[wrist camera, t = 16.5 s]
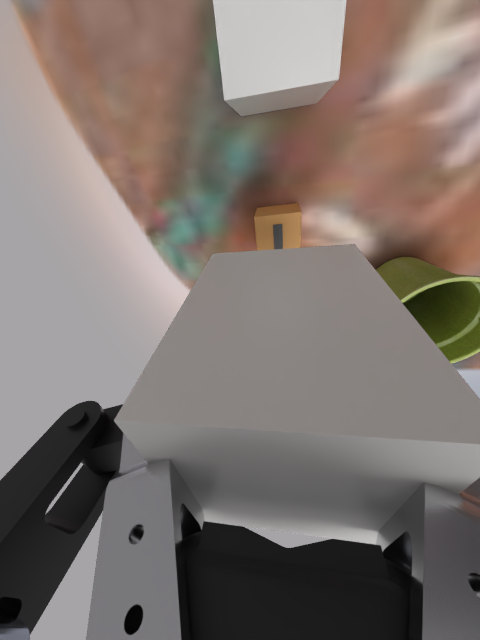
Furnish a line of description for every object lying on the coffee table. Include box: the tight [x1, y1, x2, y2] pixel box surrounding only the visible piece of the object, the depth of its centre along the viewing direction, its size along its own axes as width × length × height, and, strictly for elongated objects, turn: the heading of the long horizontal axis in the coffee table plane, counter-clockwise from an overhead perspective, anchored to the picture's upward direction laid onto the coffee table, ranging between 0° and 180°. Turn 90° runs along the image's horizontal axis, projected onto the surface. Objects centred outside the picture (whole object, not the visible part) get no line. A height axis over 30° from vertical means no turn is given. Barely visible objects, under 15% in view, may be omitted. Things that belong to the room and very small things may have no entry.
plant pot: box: [376, 257, 480, 364], centre depth 22 cm, size 9×9×9 cm
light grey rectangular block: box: [114, 244, 480, 544], centre depth 8 cm, size 6×6×8 cm
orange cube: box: [254, 203, 301, 251], centre depth 22 cm, size 4×4×4 cm
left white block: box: [213, 0, 346, 116], centre depth 14 cm, size 6×6×8 cm
